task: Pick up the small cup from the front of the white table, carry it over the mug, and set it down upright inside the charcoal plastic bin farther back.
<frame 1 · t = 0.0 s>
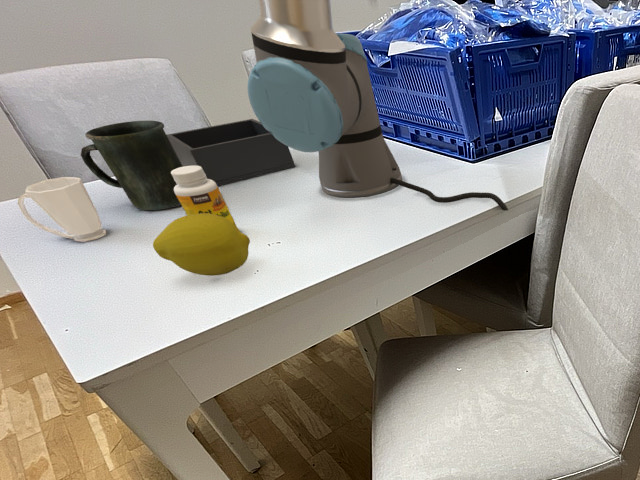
supplement bottle: (222, 239, 71), on the table
cup: (81, 238, 72), on the table
mug: (158, 203, 83), on the table
lemon: (221, 273, 63), on the table
bin: (240, 168, 97), on the table
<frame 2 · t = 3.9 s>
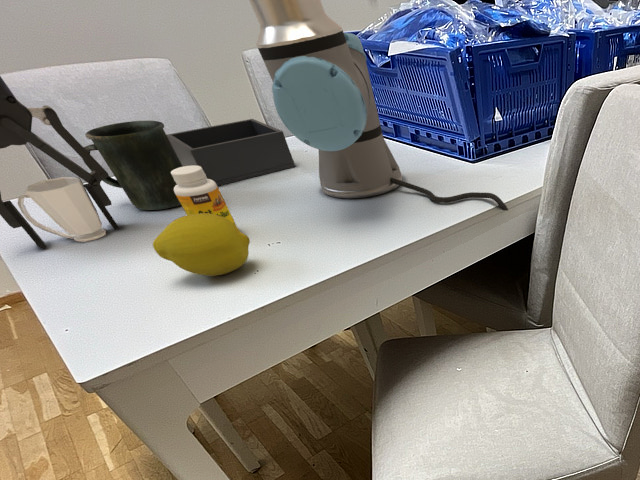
hand: (79, 235, 72), 0 cm above the table, tool pointing down, fingers open, 9 cm apart
cup: (81, 238, 73), on the table, touching gripper
everything else where it was.
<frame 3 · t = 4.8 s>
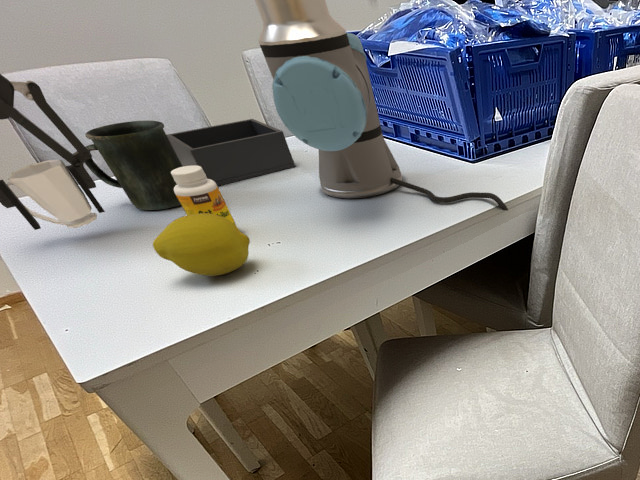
hand: (69, 218, 70), 3 cm above the table, tool pointing down, fingers closed on cup, 8 cm apart
cup: (74, 224, 71), point 2 cm above the table, touching gripper
everything else where it was.
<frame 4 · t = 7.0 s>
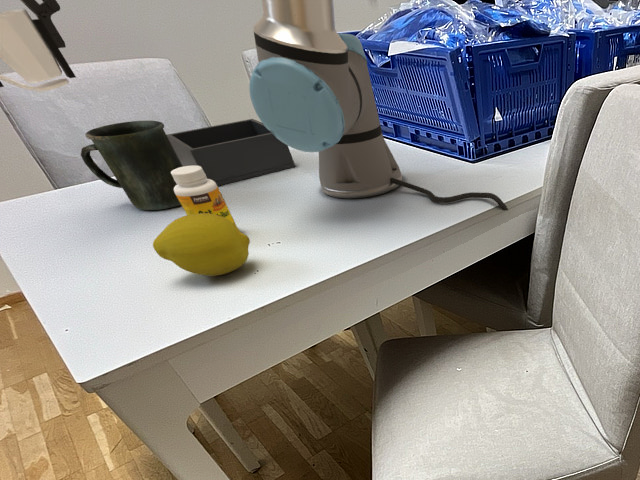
hand: (36, 81, 64), 20 cm above the table, tool pointing down, fingers closed on cup, 8 cm apart
cup: (44, 89, 65), point 19 cm above the table, touching gripper
everything else where it was.
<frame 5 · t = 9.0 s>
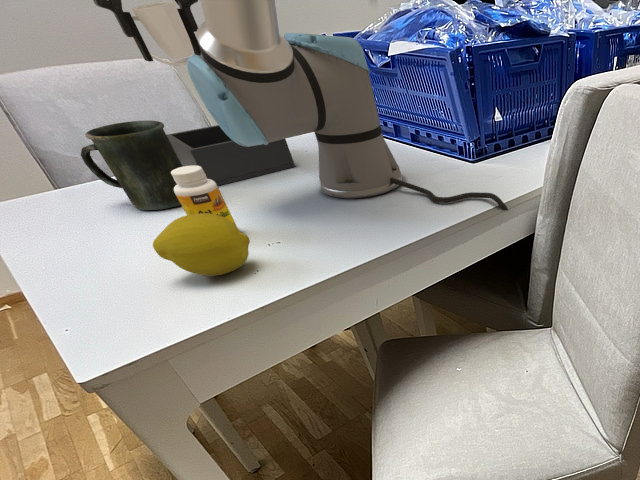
hand: (174, 57, 81), 20 cm above the table, tool pointing down, fingers closed on cup, 7 cm apart
cup: (179, 65, 82), point 18 cm above the table, touching gripper
everything else where it was.
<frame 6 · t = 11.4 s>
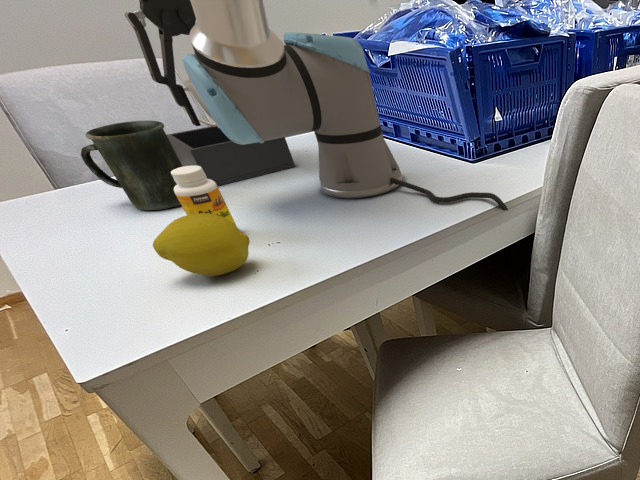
hand: (218, 120, 90), 9 cm above the table, tool pointing down, fingers closed on cup, 7 cm apart
cup: (221, 126, 91), point 8 cm above the table, touching gripper
everything else where it was.
when the fingers open (2 cm above the table, at t = 13.4 s): cup stays where it is, resting on bin.
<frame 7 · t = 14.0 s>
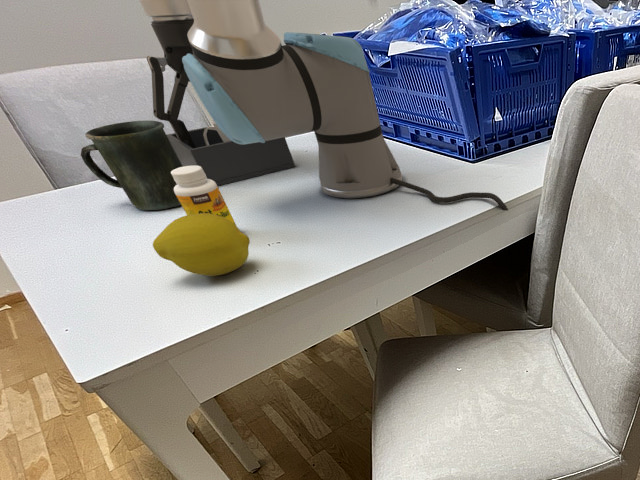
hand: (232, 150, 94), 4 cm above the table, tool pointing down, fingers open, 13 cm apart
cup: (241, 163, 97), point 1 cm above the table, touching bin
everything else where it was.
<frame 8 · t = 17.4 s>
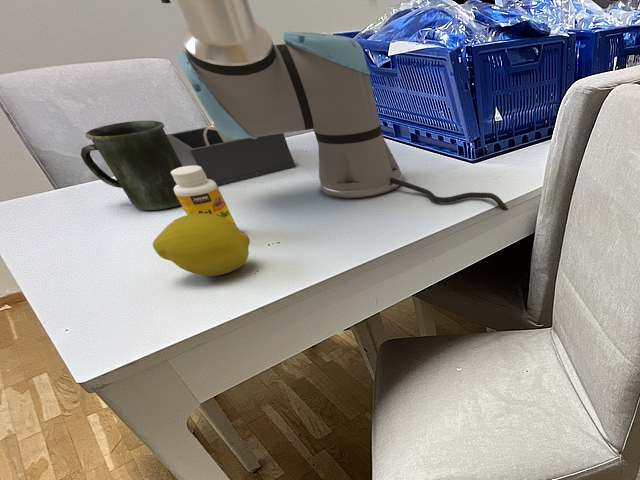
hand: (206, 1, 84), 27 cm above the table, tool pointing down, fingers open, 13 cm apart
nothing on the table moved.
at the end: cup inside the target area in the bin (1.0 cm from its centre), point 0.6 cm above the bin's base; cup tilted 0°; the gripper is holding nothing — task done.
